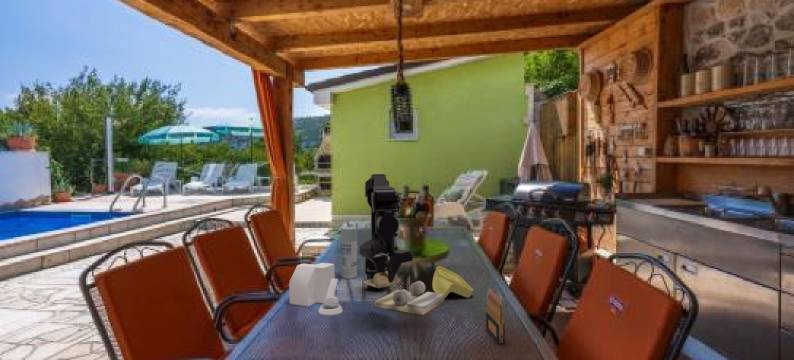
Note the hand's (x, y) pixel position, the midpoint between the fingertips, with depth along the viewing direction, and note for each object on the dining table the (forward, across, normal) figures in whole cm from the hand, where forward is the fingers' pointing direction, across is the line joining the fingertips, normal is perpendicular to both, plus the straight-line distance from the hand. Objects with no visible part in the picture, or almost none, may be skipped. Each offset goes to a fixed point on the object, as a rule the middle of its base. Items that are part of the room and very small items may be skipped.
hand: (385, 280), depth 150 cm
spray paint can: (+12, -47, +21) cm, 53 cm away
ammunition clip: (+12, +32, +12) cm, 36 cm away
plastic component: (+12, -5, +35) cm, 37 cm away
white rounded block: (+12, -30, -7) cm, 33 cm away
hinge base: (+11, -5, +14) cm, 19 cm away
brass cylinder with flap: (+2, -2, 0) cm, 3 cm away
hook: (+12, -17, -9) cm, 22 cm away
